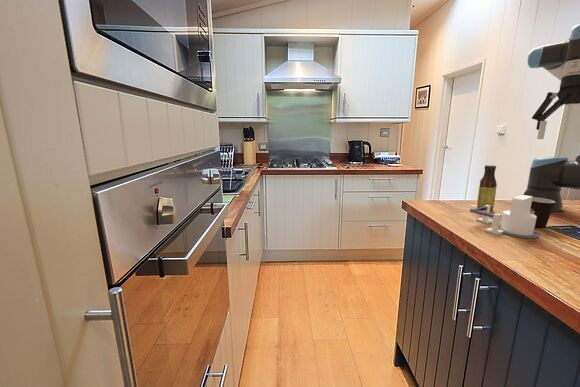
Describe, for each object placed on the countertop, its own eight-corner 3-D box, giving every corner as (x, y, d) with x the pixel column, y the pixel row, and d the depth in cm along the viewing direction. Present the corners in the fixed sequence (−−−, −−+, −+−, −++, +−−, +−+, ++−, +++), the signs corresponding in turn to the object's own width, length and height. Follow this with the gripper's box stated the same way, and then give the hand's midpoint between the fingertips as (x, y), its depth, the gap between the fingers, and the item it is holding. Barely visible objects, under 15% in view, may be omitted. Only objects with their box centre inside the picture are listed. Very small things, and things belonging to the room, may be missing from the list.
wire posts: (474, 218, 113) (477, 203, 112) (491, 220, 111) (493, 204, 110) (486, 233, 97) (490, 215, 95) (506, 236, 95) (510, 217, 93)
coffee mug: (555, 230, 100) (561, 203, 98) (527, 228, 102) (533, 202, 100) (534, 220, 111) (539, 196, 109) (510, 219, 113) (514, 194, 111)
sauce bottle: (496, 211, 123) (504, 166, 119) (481, 211, 123) (489, 166, 119) (486, 207, 129) (493, 164, 125) (472, 207, 130) (479, 164, 125)
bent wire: (485, 208, 109) (485, 206, 109) (512, 215, 101) (513, 212, 100) (469, 211, 105) (469, 208, 105) (495, 218, 97) (496, 215, 97)
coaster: (507, 224, 106) (508, 223, 106) (546, 235, 95) (546, 234, 95) (487, 229, 101) (487, 227, 101) (525, 241, 91) (525, 239, 90)
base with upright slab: (506, 224, 104) (512, 193, 102) (537, 231, 97) (544, 198, 94) (496, 229, 99) (501, 196, 97) (527, 237, 92) (535, 201, 89)
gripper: (527, 79, 103) (517, 138, 108) (627, 66, 81) (608, 141, 86) (539, 81, 106) (528, 138, 111) (638, 68, 84) (620, 141, 89)
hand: (563, 139), depth 98 cm, fingers open, 13 cm apart
